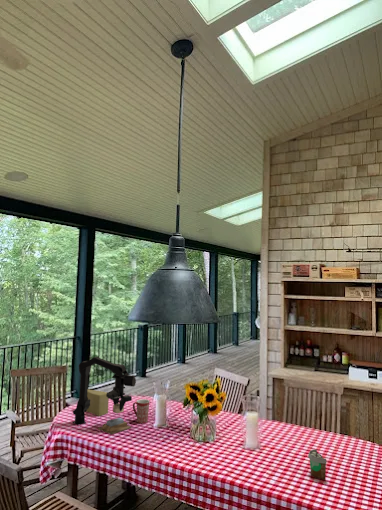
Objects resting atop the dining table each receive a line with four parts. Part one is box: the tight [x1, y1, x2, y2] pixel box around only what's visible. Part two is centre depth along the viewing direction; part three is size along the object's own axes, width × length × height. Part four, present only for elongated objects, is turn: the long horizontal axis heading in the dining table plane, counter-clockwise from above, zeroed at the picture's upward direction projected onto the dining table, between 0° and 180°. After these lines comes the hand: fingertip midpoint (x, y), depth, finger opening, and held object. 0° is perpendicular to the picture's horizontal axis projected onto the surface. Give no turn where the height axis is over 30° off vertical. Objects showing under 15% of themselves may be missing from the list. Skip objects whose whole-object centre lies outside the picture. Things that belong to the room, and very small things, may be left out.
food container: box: [307, 448, 327, 481], centre depth 194 cm, size 12×6×10 cm, turn 5°
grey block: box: [106, 417, 125, 427], centre depth 253 cm, size 4×10×5 cm, turn 137°
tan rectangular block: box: [112, 403, 125, 414], centre depth 255 cm, size 4×6×4 cm
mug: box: [132, 398, 151, 424], centre depth 268 cm, size 13×9×14 cm
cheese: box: [85, 388, 110, 417], centre depth 286 cm, size 22×10×15 cm, turn 58°
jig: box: [97, 421, 132, 435], centre depth 252 cm, size 14×16×3 cm
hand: (118, 410), depth 255 cm, fingers closed on tan rectangular block, 4 cm apart
